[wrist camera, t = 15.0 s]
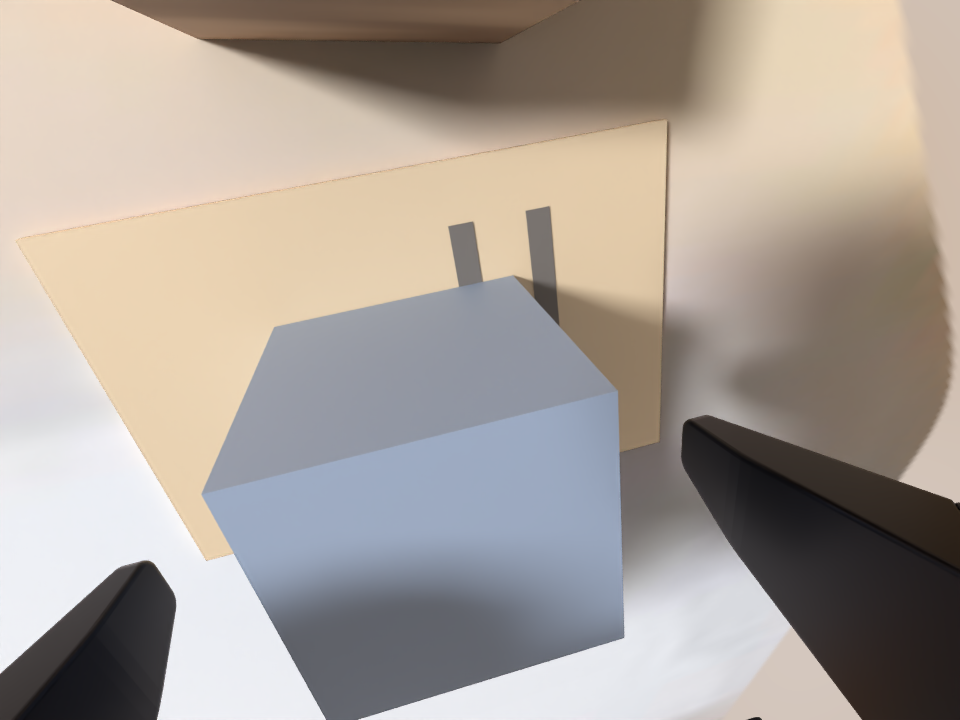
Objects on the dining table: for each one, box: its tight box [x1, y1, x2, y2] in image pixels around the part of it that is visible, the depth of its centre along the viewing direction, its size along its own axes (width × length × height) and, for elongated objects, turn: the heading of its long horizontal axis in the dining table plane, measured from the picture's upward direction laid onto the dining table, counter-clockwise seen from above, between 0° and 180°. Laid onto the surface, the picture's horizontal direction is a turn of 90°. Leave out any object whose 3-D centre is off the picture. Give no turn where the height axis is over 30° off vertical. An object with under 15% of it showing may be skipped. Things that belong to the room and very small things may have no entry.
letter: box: [15, 119, 667, 561], centre depth 11 cm, size 12×8×1 cm, turn 98°
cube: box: [201, 275, 624, 720], centre depth 9 cm, size 5×5×5 cm
